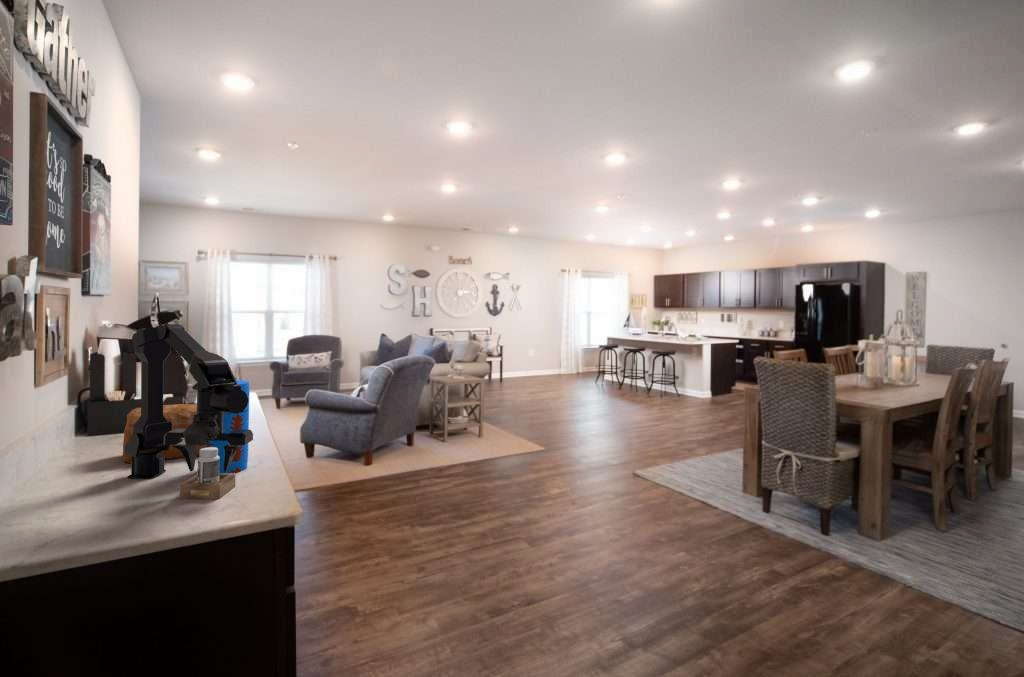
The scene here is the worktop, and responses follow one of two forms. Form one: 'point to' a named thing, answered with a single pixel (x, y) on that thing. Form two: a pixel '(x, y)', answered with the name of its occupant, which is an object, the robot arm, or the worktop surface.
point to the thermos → (232, 423)
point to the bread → (175, 414)
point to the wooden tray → (207, 487)
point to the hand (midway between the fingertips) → (208, 471)
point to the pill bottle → (208, 465)
